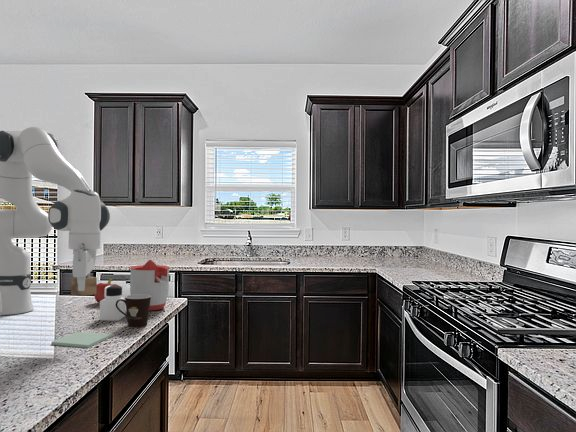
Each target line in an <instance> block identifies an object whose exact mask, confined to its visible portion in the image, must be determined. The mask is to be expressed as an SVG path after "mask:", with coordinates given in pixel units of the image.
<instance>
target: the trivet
mask: <svg viewBox="0 0 576 432" xmlns="http://www.w3.org/2000/svg"><path fill="white" fill-rule="evenodd" d="M111 338H112V333H100V332H99V333H98V332H87V331H75V332H73V333H70V334H68V335H65V336H63V337H60V338H58V339H55V340H52V341H51V346H61V347H75V348H87V349H89V348H91V347H93V346H96V345H97V344H99V343H102V342H104V341H107V339H111Z"/></svg>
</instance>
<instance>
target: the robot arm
mask: <svg viewBox="0 0 576 432" xmlns="http://www.w3.org/2000/svg"><path fill="white" fill-rule="evenodd" d="M58 145H59V144H58V141H57V138H56V137H55V136H54V135H53V133H49V132H47V131H46V130H45V129H43V128H40V127H38V126H37V127H36V126H30V127H25V129H23V130H8V131H7V130H6V131H5V130H0V198H1V199H2V200H4V201H5V202H8V203H10V204H12V205H13V206H15V209H6V208H5V209H1V208H0V316H5V315H17V314H23V313H29V312H31V311H34V310H35V309H34V308H35V307H34V305H33V301H32V300H33V299H32V294H31V283H32V273H30V272H31V255H30V253H29V251H27V250H26V249H25V248H22V247H19V246H17V245H15V244H14V243H13V242H12V240H13V239H36V238H41V237H47V236H48V235H49V234H50V232H51V231H52V229H55V230H57V231H61V232H68V249H69V250H72V254H73V255H72V257H73V258H72V278H74V277H77V282H78V291H84V290H85V279H86V276H90V277H91V272H92V271H93V270H94V269H95V267H96V266H95V265H96V259H97V251H98V249H101V231H103V230H104V229H105V228H106V227H107V226H108V224H109V222H110V218H111V216H110V215H111V214H110V210H109V209H108V207H107V205H106V204H105V203H104V202H103V200H101V199H100V195H99V193H98V192H96V191H94V190H93V189H92V188H91V186H90V185H89V183H88V182H87V181H86V179H85V177H84V176H83V175H82V174H81V172H80V171H79V170H78V169H77V168H75V166H73V165H72V164H71V163H69V162H68V160H66V159H65V158H64V156H63V155H62V154H61V152H60V151H59V146H58ZM33 177H34V178H35V179H38V180H40V181H43V182H45V183H46V182H47V183H50V184H53V185H54V184H55V185H58V186H60V187H63V188H65V189H67V190H68V191H69V192H71V193H70V195H69V196H67V197H65V198H63V199H61V200H57V201H55V202H54V203H52V204H51V206H50V208H49V209H48V212H46V211H45V210H43V208H41V207H40V206H39V205H38V203H37V202H36V200H35V198H34V194H33V193H34V192H33V179H32V178H33Z"/></svg>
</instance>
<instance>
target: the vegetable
mask: <svg viewBox="0 0 576 432" xmlns="http://www.w3.org/2000/svg"><path fill="white" fill-rule="evenodd" d="M111 282H113V278H109V279H108V281H107V283H102V282H100V283H97V290H96V294H93V295H94V300H95V301H96V303H98V304H100V301H101V300H103V299H105V297H104V291H105V287H107V286H111V285H118V286H120V285H119V284H117V283H113V284H112V283H111Z"/></svg>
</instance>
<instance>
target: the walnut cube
mask: <svg viewBox="0 0 576 432" xmlns="http://www.w3.org/2000/svg"><path fill="white" fill-rule="evenodd" d="M70 280H71V282H70V283H71V286H70V288H71V289H70V295H73V296H81V297H85V296H91V295H94V294H96V290H97V284H98V282H97V280H98V277H96V276H91V275H90V276H86V279H85V290H84V291H78V282H77V277H71V279H70Z"/></svg>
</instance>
